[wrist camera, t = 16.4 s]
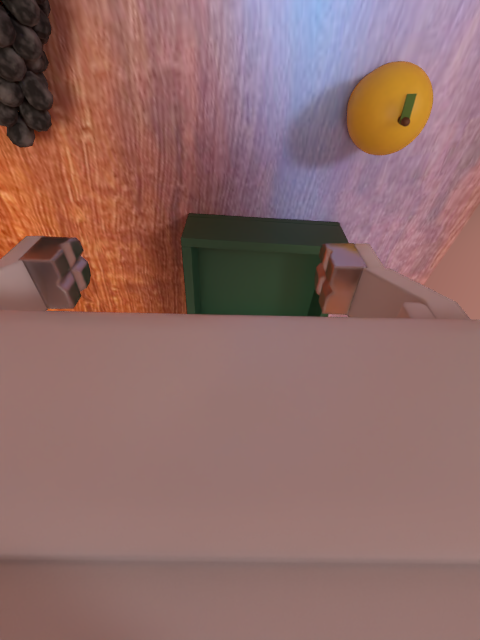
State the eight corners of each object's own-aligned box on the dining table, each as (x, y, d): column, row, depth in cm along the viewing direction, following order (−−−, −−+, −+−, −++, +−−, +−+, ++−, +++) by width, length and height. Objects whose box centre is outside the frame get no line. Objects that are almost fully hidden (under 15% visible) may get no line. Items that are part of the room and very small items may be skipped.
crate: (306, 333, 44) (312, 362, 40) (195, 327, 43) (190, 356, 40) (339, 222, 32) (351, 248, 28) (188, 212, 32) (180, 237, 28)
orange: (400, 142, 27) (435, 168, 22) (334, 145, 27) (353, 171, 22) (424, 56, 23) (473, 63, 18) (346, 60, 23) (373, 68, 18)
